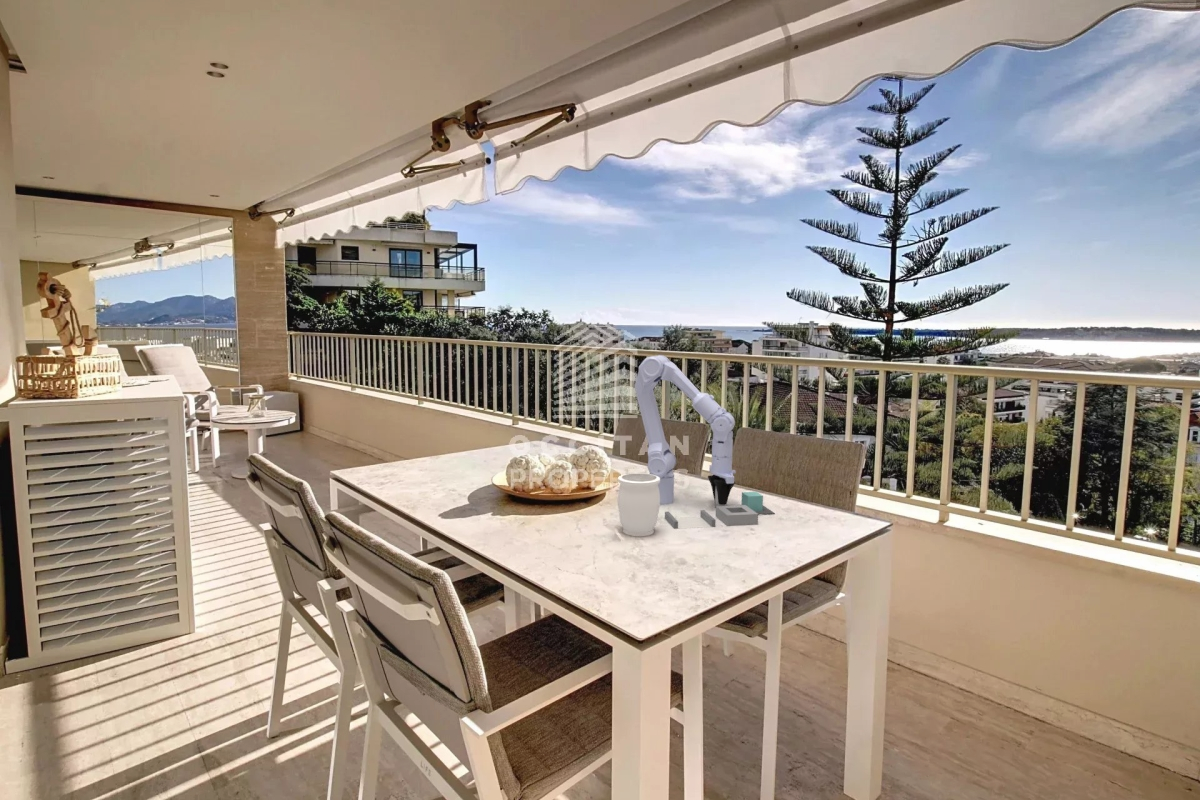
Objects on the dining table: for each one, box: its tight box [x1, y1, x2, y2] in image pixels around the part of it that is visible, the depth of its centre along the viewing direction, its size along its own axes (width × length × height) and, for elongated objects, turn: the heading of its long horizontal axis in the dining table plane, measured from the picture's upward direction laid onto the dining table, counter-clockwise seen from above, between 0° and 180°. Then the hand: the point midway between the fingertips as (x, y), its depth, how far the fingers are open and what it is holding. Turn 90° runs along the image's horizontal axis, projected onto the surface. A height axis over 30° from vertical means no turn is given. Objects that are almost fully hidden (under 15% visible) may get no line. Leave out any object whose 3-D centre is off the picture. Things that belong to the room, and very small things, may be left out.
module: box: [740, 491, 764, 512], centre depth 183 cm, size 4×4×4 cm
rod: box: [714, 487, 727, 509], centre depth 181 cm, size 3×3×8 cm
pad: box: [756, 505, 776, 516], centre depth 183 cm, size 9×9×1 cm
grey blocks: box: [664, 504, 759, 530], centre depth 169 cm, size 24×14×4 cm, turn 100°
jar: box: [617, 472, 660, 537], centre depth 159 cm, size 11×10×15 cm
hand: (720, 502), depth 181 cm, fingers closed on rod, 3 cm apart
